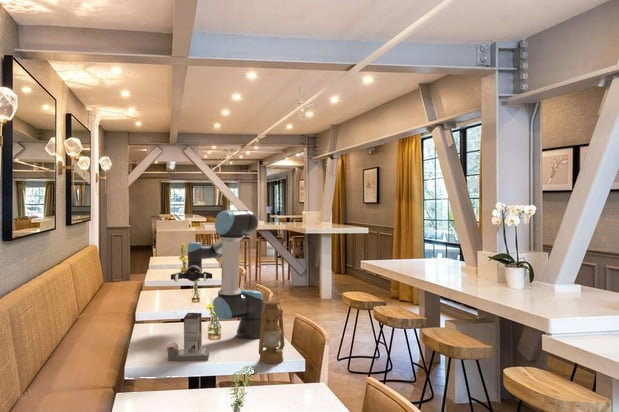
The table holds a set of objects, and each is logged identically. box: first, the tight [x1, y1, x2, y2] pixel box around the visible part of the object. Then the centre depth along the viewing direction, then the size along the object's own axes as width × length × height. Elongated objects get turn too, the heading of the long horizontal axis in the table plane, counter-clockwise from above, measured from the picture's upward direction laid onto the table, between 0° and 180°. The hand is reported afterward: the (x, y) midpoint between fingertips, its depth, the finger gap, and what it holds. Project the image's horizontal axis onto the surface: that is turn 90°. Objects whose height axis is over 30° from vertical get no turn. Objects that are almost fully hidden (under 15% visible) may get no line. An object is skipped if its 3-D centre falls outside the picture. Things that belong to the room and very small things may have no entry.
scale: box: [165, 341, 210, 363], centre depth 222 cm, size 18×10×8 cm, turn 98°
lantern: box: [258, 290, 285, 365], centre depth 218 cm, size 15×10×30 cm
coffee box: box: [183, 312, 203, 354], centre depth 222 cm, size 9×6×16 cm
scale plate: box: [179, 347, 207, 356], centre depth 222 cm, size 11×9×1 cm
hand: (190, 278), depth 245 cm, fingers open, 13 cm apart
